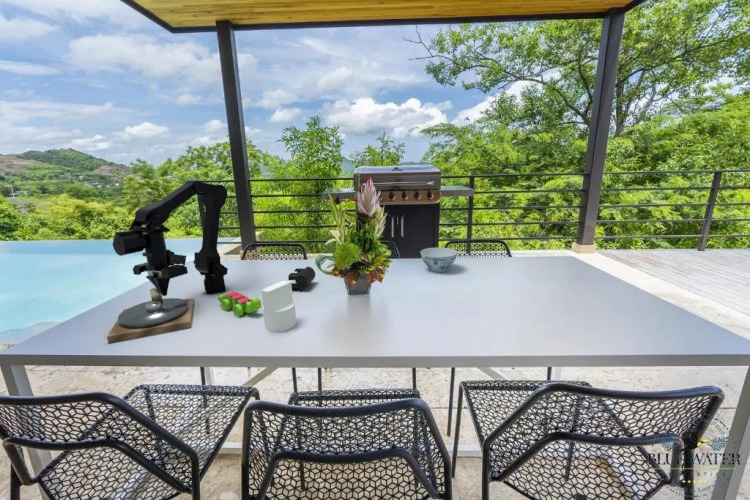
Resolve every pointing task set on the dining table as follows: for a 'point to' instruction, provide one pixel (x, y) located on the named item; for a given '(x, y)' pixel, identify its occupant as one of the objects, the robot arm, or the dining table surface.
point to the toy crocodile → (239, 303)
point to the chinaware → (438, 258)
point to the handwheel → (153, 311)
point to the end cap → (301, 278)
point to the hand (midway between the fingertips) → (165, 295)
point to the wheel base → (152, 327)
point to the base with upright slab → (278, 307)
